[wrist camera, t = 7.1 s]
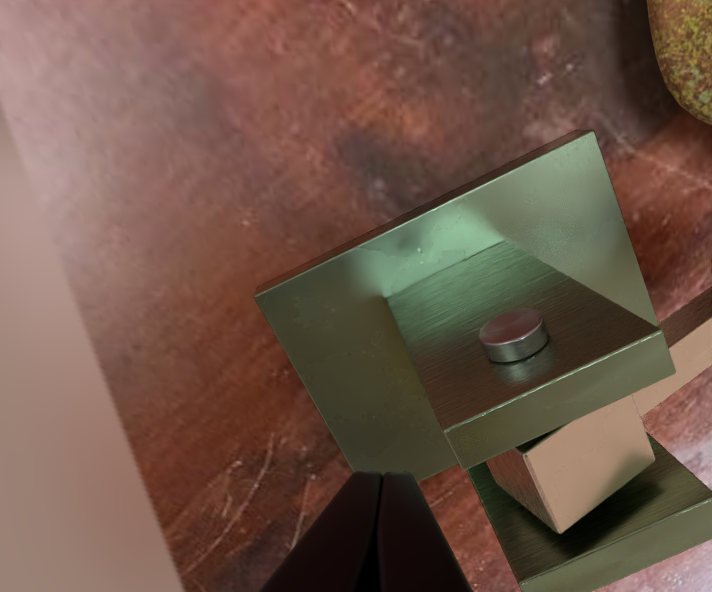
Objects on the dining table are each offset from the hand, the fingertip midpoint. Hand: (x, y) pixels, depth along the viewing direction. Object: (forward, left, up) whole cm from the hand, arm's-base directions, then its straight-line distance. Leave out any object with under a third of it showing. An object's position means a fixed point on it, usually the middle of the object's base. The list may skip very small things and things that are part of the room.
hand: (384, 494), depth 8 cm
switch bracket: (+2, -4, -12) cm, 13 cm away
